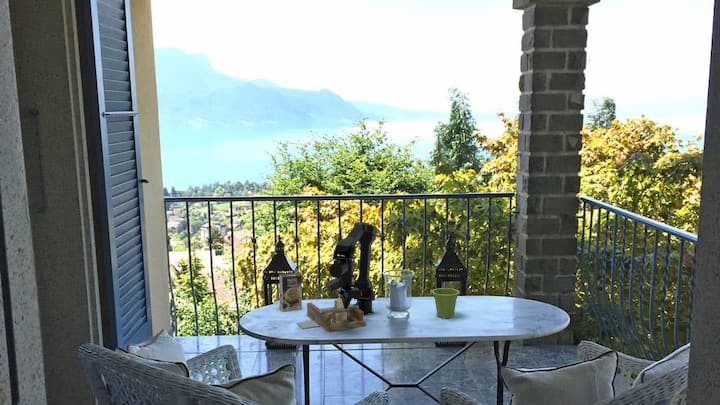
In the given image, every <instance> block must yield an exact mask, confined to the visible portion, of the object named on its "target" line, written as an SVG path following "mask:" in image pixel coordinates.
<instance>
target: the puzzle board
mask: <svg viewBox="0 0 720 405" xmlns="http://www.w3.org/2000/svg"><path fill="white" fill-rule="evenodd" d="M350 304H351V303H350ZM350 304H349V305H350ZM319 309H321V308H319V307H318V306H317V305H316V304H315V303H313V302H307V303H306V314H307V315H306V316H308V317H309V318H310V319H311V320H312V321H314V322H316V323H317V324H318V325H319V326H320V327H322V329H324V330H325V331H327V332H328V333H330V332H337V331H342V330H349V329H355V328H361V327H366V326H367V321H366V320H365V318H364V316H365V315H364V312H363V311H361V310H360V309H358V308H357V309H350V310H344V311H345V312H347V323H341V324H334V323H333V322H332V321H331V312H330V313H323V314H322V313H320V312H319Z"/></svg>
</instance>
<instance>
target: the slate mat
mask: <svg viewBox="0 0 720 405" xmlns="http://www.w3.org/2000/svg"><path fill="white" fill-rule="evenodd" d="M296 325H297V326H299V327H300V328H301V329H302V330H307V329H313V328H318V327H321V326H320V325H319V324H318V323H317V322H315V321H314V320H308V321H307V320H306V321H300V322H296Z"/></svg>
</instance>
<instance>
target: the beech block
mask: <svg viewBox="0 0 720 405" xmlns="http://www.w3.org/2000/svg"><path fill="white" fill-rule="evenodd" d="M331 321H332V322H333V323H334V324H341V323H348V321H347V312H345V311H337V312H331Z"/></svg>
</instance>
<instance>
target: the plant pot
mask: <svg viewBox="0 0 720 405" xmlns="http://www.w3.org/2000/svg"><path fill="white" fill-rule="evenodd" d="M431 292H432V294H433V297H434V301H435V302H434V303H435V308H436V315H437V317H439V318H442V319H448V318H449V319H450V318H453V317H454V316H455V311H456V304H457V299H458V295H459V294H460V291H459V290H458V289H455V288H448V287H444V288H443V287H441V288H439V287H438V288H434V289H432V291H431Z"/></svg>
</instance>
